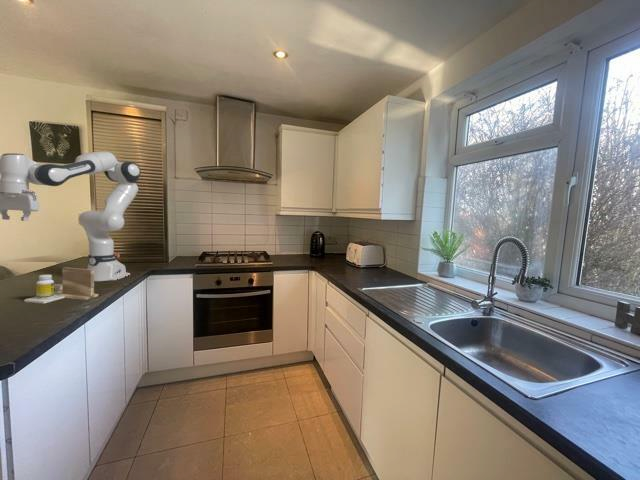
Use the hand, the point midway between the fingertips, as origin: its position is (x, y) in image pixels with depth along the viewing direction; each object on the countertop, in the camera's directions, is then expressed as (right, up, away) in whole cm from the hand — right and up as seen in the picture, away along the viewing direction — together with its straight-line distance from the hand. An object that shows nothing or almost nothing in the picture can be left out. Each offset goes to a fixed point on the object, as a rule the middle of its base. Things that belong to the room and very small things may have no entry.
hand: (15, 220), depth 124 cm
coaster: (+19, -35, -5) cm, 40 cm away
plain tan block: (+15, -34, +3) cm, 37 cm away
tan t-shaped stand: (+27, -35, +1) cm, 45 cm away
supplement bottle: (+19, -34, -5) cm, 40 cm away
